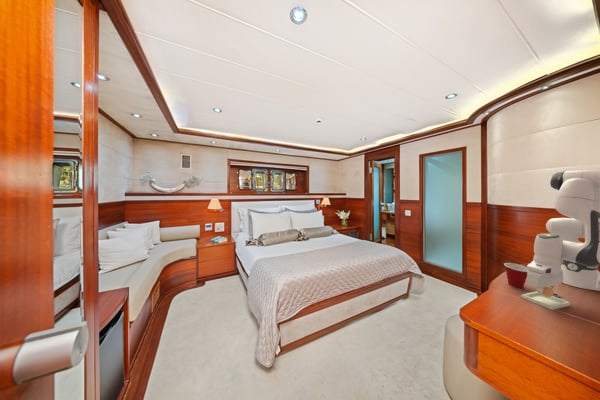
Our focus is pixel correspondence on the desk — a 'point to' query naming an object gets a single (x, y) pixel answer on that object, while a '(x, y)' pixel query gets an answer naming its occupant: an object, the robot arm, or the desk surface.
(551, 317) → the desk surface
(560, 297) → the coaster
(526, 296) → the tray
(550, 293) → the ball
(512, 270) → the plastic cup
